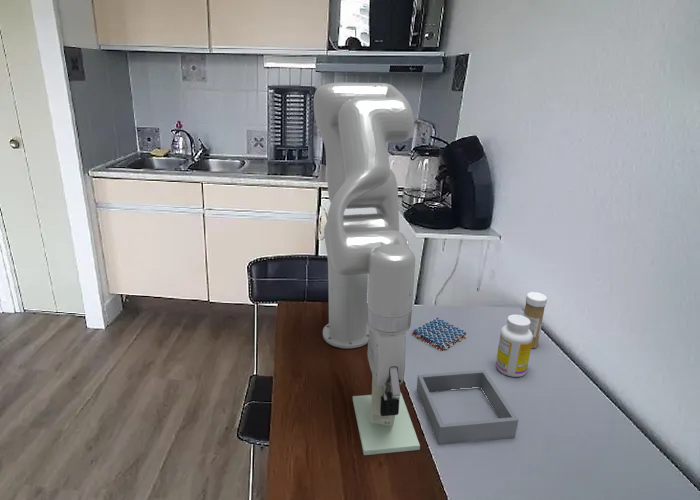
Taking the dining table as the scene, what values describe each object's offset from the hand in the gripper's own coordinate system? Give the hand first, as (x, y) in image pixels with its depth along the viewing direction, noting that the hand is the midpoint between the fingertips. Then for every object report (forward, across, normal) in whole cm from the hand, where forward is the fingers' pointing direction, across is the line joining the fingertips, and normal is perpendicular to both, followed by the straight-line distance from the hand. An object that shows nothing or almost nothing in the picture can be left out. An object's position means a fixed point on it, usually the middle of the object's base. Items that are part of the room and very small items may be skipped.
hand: (384, 398), depth 82 cm
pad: (+6, 0, 0) cm, 6 cm away
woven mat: (+6, -28, +20) cm, 35 cm away
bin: (+6, -1, +16) cm, 17 cm away
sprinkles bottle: (+6, -22, +41) cm, 47 cm away
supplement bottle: (+6, -13, +32) cm, 35 cm away
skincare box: (+3, 0, 0) cm, 3 cm away
